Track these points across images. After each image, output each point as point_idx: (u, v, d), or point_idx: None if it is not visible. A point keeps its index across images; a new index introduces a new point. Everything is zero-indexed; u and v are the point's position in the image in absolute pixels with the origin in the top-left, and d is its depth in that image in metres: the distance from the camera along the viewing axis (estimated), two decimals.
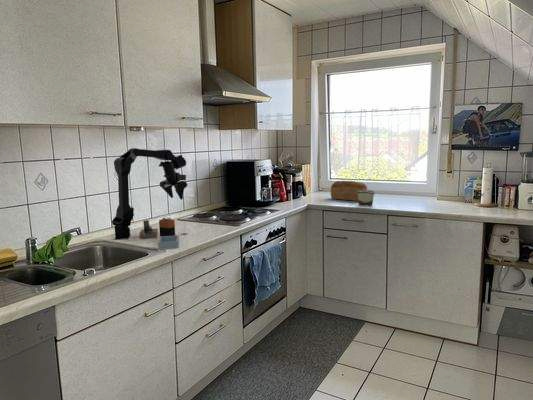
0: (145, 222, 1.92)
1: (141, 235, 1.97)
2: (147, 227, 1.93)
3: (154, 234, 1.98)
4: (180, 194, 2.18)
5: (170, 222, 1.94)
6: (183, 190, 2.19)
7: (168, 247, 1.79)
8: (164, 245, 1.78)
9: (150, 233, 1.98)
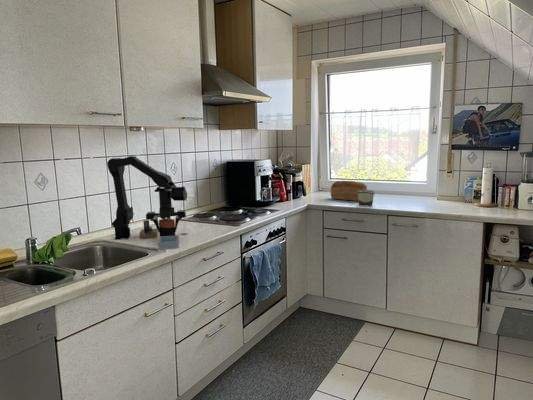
0: (145, 222, 1.92)
1: (141, 235, 1.97)
2: (147, 227, 1.93)
3: (154, 234, 1.98)
4: None
5: (170, 222, 1.94)
6: None
7: (168, 247, 1.79)
8: (164, 245, 1.78)
9: (150, 233, 1.98)
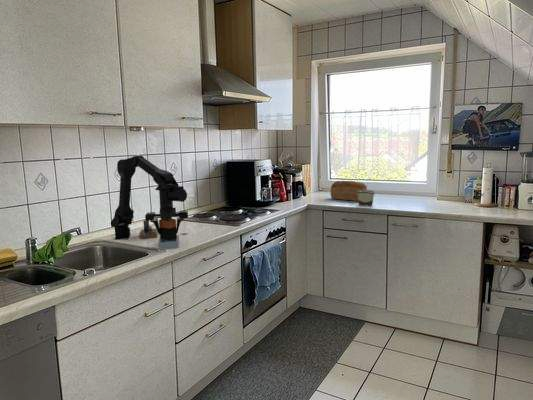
0: (145, 222, 1.92)
1: (141, 235, 1.97)
2: (147, 227, 1.93)
3: (154, 234, 1.98)
4: None
5: (171, 222, 1.80)
6: (154, 224, 1.80)
7: (168, 247, 1.79)
8: (164, 245, 1.78)
9: (150, 233, 1.98)
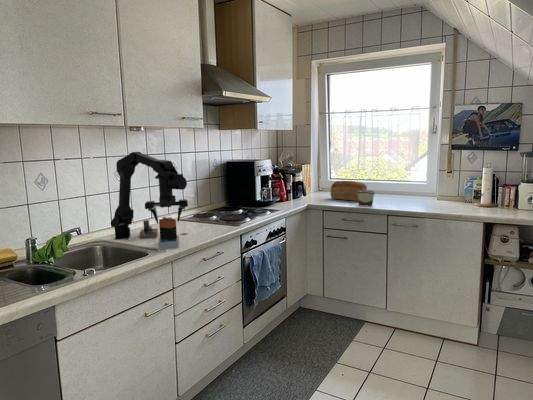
0: (145, 222, 1.92)
1: (141, 235, 1.97)
2: (147, 227, 1.93)
3: (154, 234, 1.98)
4: None
5: (171, 222, 1.80)
6: None
7: (168, 247, 1.79)
8: (164, 245, 1.78)
9: (150, 233, 1.98)
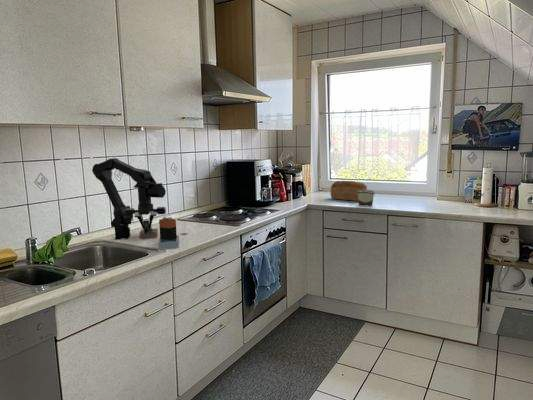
0: (145, 222, 1.92)
1: (141, 235, 1.97)
2: (147, 227, 1.93)
3: (154, 234, 1.98)
4: None
5: (171, 222, 1.80)
6: (138, 219, 1.92)
7: (168, 247, 1.79)
8: (164, 245, 1.78)
9: (150, 233, 1.98)
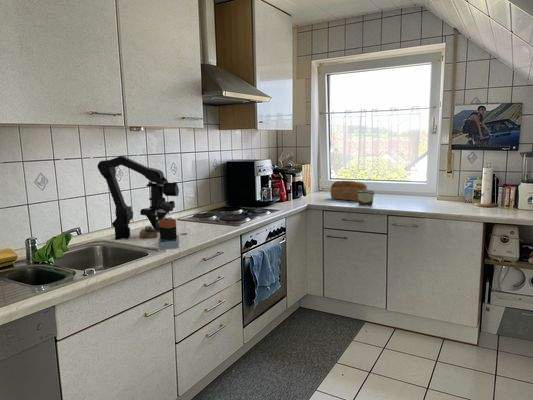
0: (157, 221, 1.95)
1: (141, 235, 1.97)
2: None
3: (154, 234, 1.98)
4: (151, 221, 1.94)
5: (171, 222, 1.80)
6: (154, 218, 1.93)
7: (168, 247, 1.79)
8: (164, 245, 1.78)
9: (150, 233, 1.98)
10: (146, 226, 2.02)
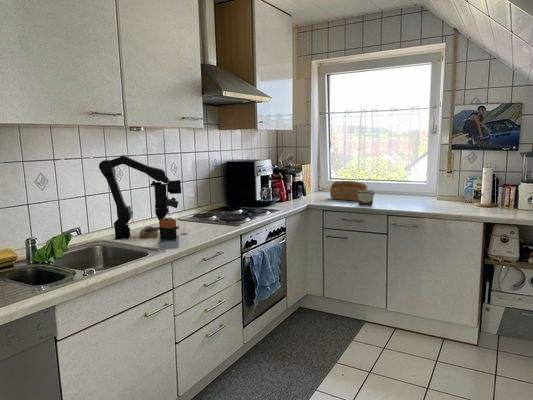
0: None
1: (141, 235, 1.97)
2: None
3: (154, 234, 1.98)
4: None
5: (171, 222, 1.80)
6: (164, 216, 1.98)
7: (168, 247, 1.79)
8: (164, 245, 1.78)
9: (150, 233, 1.98)
10: None
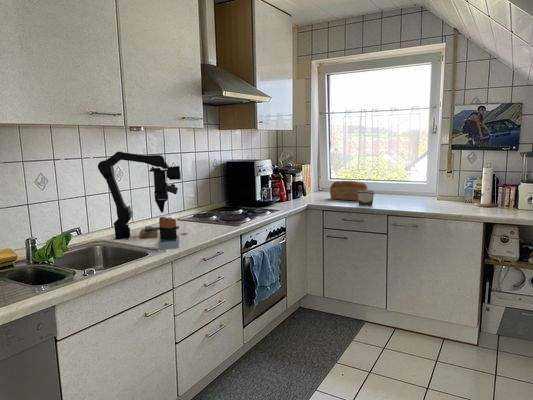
0: None
1: (141, 235, 1.97)
2: None
3: (154, 234, 1.98)
4: (160, 206, 1.96)
5: (171, 222, 1.80)
6: (164, 203, 1.95)
7: (168, 247, 1.79)
8: (164, 245, 1.78)
9: (150, 233, 1.98)
10: None
